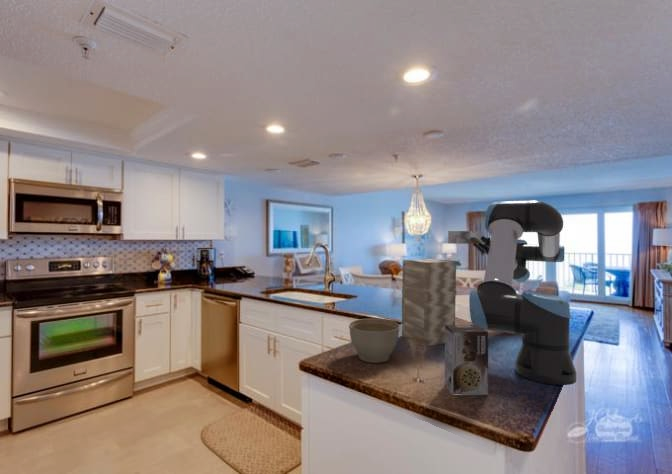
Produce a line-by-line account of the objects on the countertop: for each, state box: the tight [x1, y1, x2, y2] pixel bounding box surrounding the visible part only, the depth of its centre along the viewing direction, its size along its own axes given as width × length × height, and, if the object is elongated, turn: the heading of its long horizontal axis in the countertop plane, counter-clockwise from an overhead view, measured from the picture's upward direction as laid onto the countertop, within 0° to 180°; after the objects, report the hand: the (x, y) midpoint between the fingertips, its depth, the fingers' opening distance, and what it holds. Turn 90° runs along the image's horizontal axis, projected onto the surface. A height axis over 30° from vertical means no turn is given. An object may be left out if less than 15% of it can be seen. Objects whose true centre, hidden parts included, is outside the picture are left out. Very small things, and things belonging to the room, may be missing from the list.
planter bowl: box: [348, 318, 401, 364], centre depth 111 cm, size 16×16×11 cm
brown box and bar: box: [447, 230, 489, 245], centre depth 143 cm, size 20×6×5 cm, turn 118°
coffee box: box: [444, 324, 489, 396], centre depth 89 cm, size 9×6×16 cm
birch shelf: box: [401, 258, 461, 347], centre depth 133 cm, size 16×14×30 cm
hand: (472, 233), depth 144 cm, fingers closed on brown box and bar, 3 cm apart
